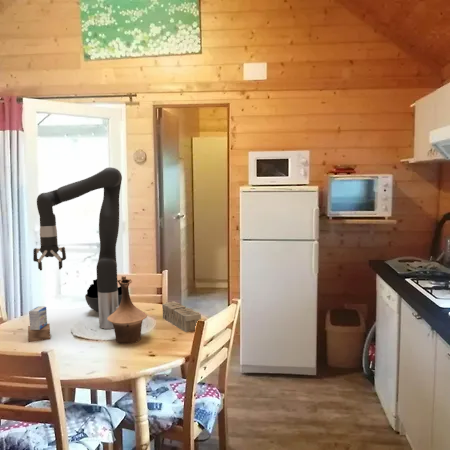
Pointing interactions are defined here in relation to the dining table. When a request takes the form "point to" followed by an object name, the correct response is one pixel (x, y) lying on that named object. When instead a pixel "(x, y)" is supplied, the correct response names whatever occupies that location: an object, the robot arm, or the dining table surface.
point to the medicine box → (38, 318)
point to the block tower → (180, 316)
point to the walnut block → (39, 334)
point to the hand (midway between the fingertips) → (50, 269)
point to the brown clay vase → (127, 317)
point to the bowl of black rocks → (93, 296)
